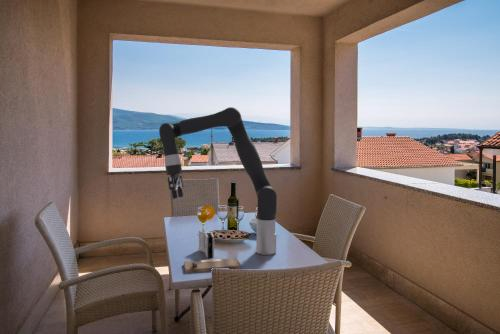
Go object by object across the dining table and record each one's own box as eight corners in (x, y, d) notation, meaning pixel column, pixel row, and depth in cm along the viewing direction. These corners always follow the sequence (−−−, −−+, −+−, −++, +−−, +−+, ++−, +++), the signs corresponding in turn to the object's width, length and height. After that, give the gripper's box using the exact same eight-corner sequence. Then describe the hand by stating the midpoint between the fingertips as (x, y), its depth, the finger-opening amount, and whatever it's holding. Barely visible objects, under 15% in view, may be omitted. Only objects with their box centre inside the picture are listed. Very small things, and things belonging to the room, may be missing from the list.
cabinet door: (236, 261, 174) (236, 254, 173) (241, 268, 164) (241, 261, 164) (183, 264, 168) (183, 258, 167) (185, 273, 158) (185, 265, 158)
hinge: (198, 250, 189) (198, 230, 189) (208, 249, 192) (208, 229, 191) (207, 258, 177) (207, 237, 176) (218, 257, 179) (218, 236, 179)
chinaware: (266, 229, 233) (266, 217, 233) (278, 235, 220) (279, 222, 219) (244, 231, 227) (244, 219, 226) (256, 238, 213) (256, 224, 213)
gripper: (175, 163, 174) (180, 197, 174) (185, 163, 188) (189, 195, 188) (160, 165, 175) (165, 200, 175) (170, 165, 189) (175, 197, 189)
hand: (178, 197), depth 181 cm, fingers open, 8 cm apart
